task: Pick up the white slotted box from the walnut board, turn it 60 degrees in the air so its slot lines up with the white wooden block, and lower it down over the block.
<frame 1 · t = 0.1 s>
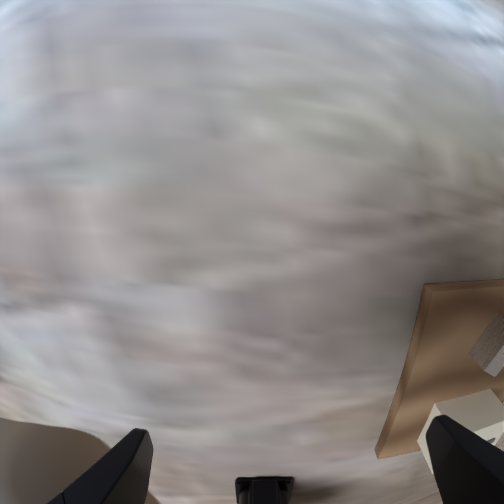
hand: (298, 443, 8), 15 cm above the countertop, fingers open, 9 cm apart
white slotted box: (454, 415, 25), point 1 cm above the countertop, touching base board
white wooden block: (479, 329, 24), resting on base board
base board: (464, 371, 25), on the countertop
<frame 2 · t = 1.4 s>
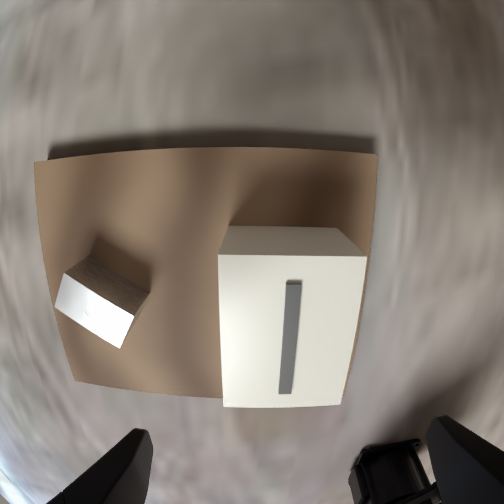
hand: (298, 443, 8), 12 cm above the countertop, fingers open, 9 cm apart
white slotted box: (280, 294, 18), point 1 cm above the countertop, touching base board
white wooden block: (120, 280, 20), resting on base board
base board: (196, 282, 20), on the countertop
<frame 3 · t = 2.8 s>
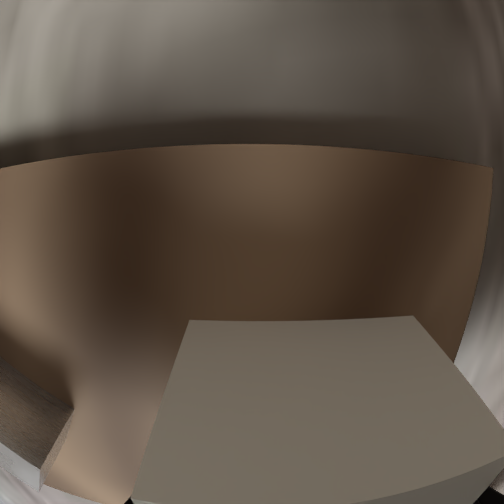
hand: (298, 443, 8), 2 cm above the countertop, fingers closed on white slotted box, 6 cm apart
white slotted box: (296, 426, 9), point 1 cm above the countertop, touching base board, gripper
white wooden block: (40, 372, 10), resting on base board
base board: (149, 390, 10), on the countertop
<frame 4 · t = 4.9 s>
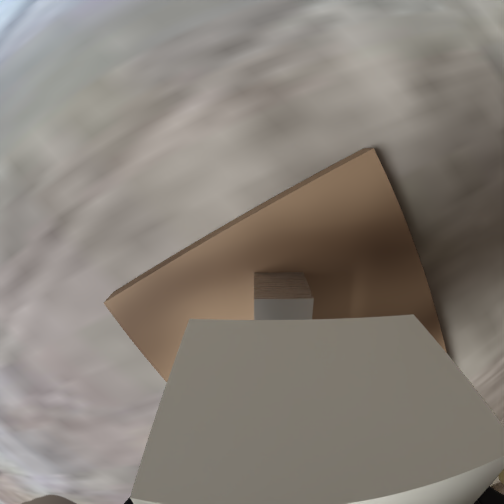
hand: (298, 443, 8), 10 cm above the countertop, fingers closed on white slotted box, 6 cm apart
white slotted box: (296, 426, 9), point 9 cm above the countertop, touching gripper
white wooden block: (275, 300, 18), resting on base board
base board: (313, 361, 19), on the countertop
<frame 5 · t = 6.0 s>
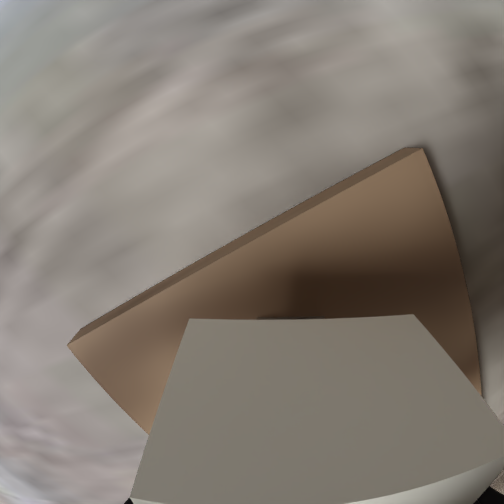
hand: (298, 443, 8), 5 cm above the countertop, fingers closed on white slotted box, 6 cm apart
white slotted box: (296, 426, 9), point 5 cm above the countertop, touching gripper
base board: (328, 411, 15), on the countertop
when the fingers open (3 cm above the countertop, at t = 7.1 s): white slotted box stays where it is, resting on base board.
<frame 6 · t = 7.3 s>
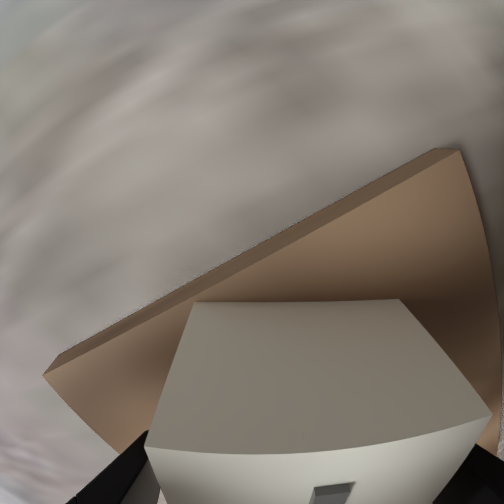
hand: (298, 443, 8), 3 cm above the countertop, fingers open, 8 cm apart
white slotted box: (292, 405, 10), point 1 cm above the countertop, touching base board
base board: (336, 443, 13), on the countertop
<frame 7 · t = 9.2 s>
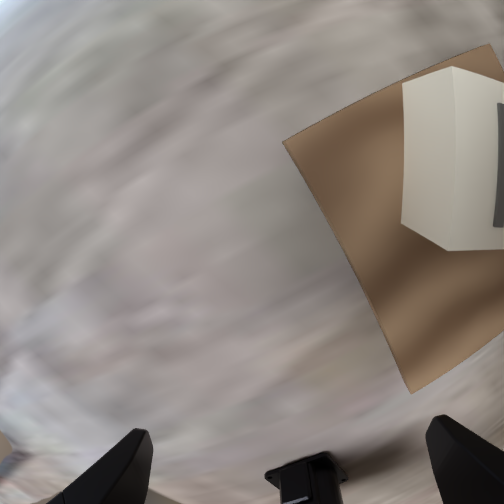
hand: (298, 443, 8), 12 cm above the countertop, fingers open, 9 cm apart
white slotted box: (446, 157, 15), point 1 cm above the countertop, touching base board
base board: (459, 225, 18), on the countertop
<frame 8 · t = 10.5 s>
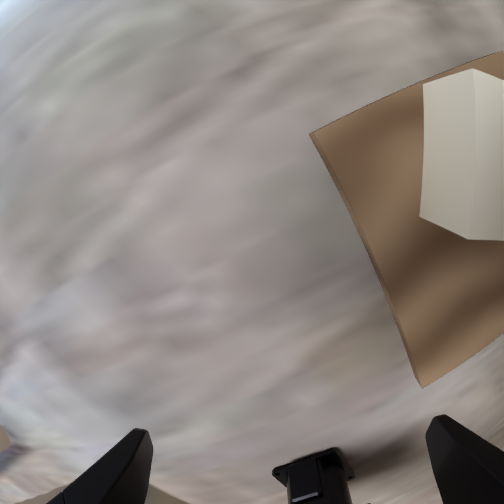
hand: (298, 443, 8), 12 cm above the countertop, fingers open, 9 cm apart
white slotted box: (461, 155, 16), point 1 cm above the countertop, touching base board
base board: (471, 222, 18), on the countertop
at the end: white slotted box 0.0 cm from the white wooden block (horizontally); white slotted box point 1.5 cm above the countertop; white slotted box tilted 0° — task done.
